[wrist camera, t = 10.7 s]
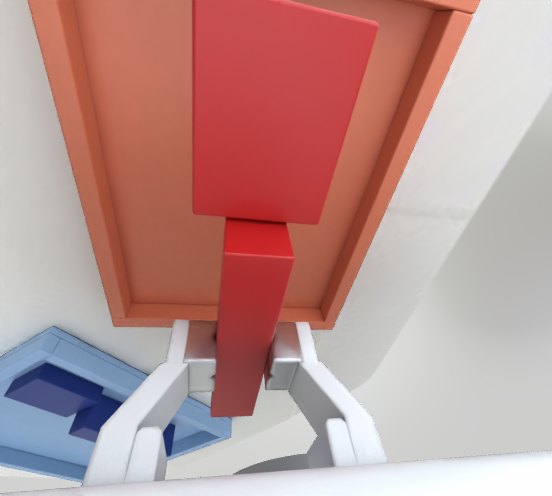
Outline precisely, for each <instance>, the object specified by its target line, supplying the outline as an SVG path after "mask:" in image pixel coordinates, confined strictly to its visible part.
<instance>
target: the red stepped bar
mask: <svg viewBox="0 0 552 496" xmlns="http://www.w3.org/2000/svg"><path fill="white" fill-rule="evenodd" d="M378 29H379V24H378V23H377V22H376V21H372V20H368V19H364V18H359V17H355V16H351V15H347V14H343V13H338V12H334V11H330V10H326V9H322V8H317V7H313V6H309V5H305V4H301V3H296V2H292V1H288V0H192V212H193V214H195V215H206V216H217V217H225V226H224V239H223V252H222V264H221V277H220V290H219V303H218V315H217V321H218V323H217V337H216V342H217V343H218V345H217V360H216V374H215V387H214V391H212V397H211V412H210V416H211V417H236V416H252V414H253V411H254V407H255V403H256V400H257V396H258V392H259V389H260V385H261V381H262V378H263V374H264V370H265V366H266V362H267V359H268V354H269V351H270V347H271V343H272V341H273V337H274V334H275V330H276V326H277V323H278V319H279V315H280V312H281V308H282V304H283V301H284V297H285V294H286V290H287V286H288V283H289V279H290V275H291V272H292V268H293V264H294V261H295V256H294V252H293V248H292V244H291V240H290V236H289V232H288V228H287V224H286V223H296V224H307V225H318V224H319V221H320V217H321V214H322V211H323V208H324V204H325V201H326V198H327V195H328V191H329V188H330V185H331V182H332V178H333V175H334V172H335V169H336V165H337V162H338V159H339V156H340V152H341V149H342V146H343V143H344V139H345V136H346V133H347V130H348V126H349V123H350V120H351V117H352V113H353V110H354V107H355V104H356V100H357V97H358V94H359V91H360V87H361V84H362V81H363V77H364V74H365V71H366V68H367V64H368V61H369V58H370V55H371V51H372V48H373V45H374V42H375V38H376V35H377V32H378Z"/></svg>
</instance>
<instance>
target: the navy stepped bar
mask: <svg viewBox="0 0 552 496" xmlns="http://www.w3.org/2000/svg"><path fill="white" fill-rule="evenodd" d="M103 389H104V387H101V386H99V385H97V384H95V383H92V382H90V381H88V380H85V379H83V378H81V377H79V376H76V375H74V374H72V373H70V372H67V371H65V370H63V369H60V368H58V367H56V366H54V365H51V364H49V363H47V362H46V363H44V364H42V365H40V366H39V367H37V368H35V369H33V370H31V371H29V372H27V373H26V374H24V375H22V376H20V377H18V378H16V379H15V380H13V382H12V383H11V385H10V386H9V388H8V390H7V391H6V393H5V394H4V397H7V398H10V399H13V400H16V401H19V402H21V403H24V404H27V405H30V406H33V407H36V408H39V409H42V410H45V411H48V412H51V413H54V414H57V415H60V416H63V417H66V418H67V417H69V416H71V415H73V414H76V416H75V418H74V421H73V423H72V426H71V428H70V431H69V433H68V434H69V435H72V436H75V437H78V438H82V439H85V440H88V441H91V442H95V443H96V441H97V438H98V435H99V432H100V429H101V427H102V426H103V425H104V424H105V423H106V421H107V420H108V419H109V418H110V417H111V416H112V415H113V414H114V413H115V412H116V411H117V410H118V409H119V407H120V406H121V405H122V404H123V403H121V402H119V401H116V400H114V399H112V398H109V397H107V396H105V395H102V392H103ZM174 433H175V425H173V424H171V423H169V424H168V426H167V427H166V429H165V430H164V431H163V439H164V445H165V452H166V458H167V457H170V456H171V453H172V446H173V439H174Z"/></svg>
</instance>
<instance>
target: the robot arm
mask: <svg viewBox="0 0 552 496" xmlns="http://www.w3.org/2000/svg"><path fill="white" fill-rule="evenodd" d="M217 323H218V321H205V320H179V319H175V321H174V323H173V327H172V332H171V337H170V342H169V346H168V351H167V356H166V361H165V363H160V364H159V365H158V366H157V368H156V369H155V370H154V371H153V372H152V373H151V374H150V375H149V376H148V377H147V378H146V379H145V381H144V382H143V383H142V384H141V385H140V386H139V387H138V388H137V389H136V390H135V391H134V392H133V393H132V395H131V396H130V397H129V398H128V399H127V400H126V401H125V402H124V403H123V404H122V405H121V406H120V407H119V409H118V410H117V411H116V412H115V413H114V414H113V415H112V416H111V417H110V418H109V419H108V420H107V421H106V423H105V424H104V425H103V426H102V427H101V429H100V432H99V435H98V438H97V441H96V444H95V447H94V450H93V453H92V456H91V459H90V462H89V464H88V467H87V470H86V473H85V476H84V479H83V482H82V485H81V487H72V488H60V489H48V490H35V491H22V492H9V493H0V496H552V450H545V451H531V452H519V453H506V454H493V455H481V456H467V457H455V458H442V459H429V460H416V461H404V462H391V463H388V462H387V459H386V456H385V453H384V450H383V447H382V444H381V441H380V438H379V435H378V432H377V430H376V427H375V424H374V421H373V418H372V416H371V414H370V413H369V412H368V411H367V410H366V409H365V408H364V407H363V406H362V405H361V404H360V402H359V401H358V400H357V399H356V398H355V397H354V396H353V395H352V394H351V393H350V392H349V391H348V389H347V388H346V387H345V386H344V385H343V384H342V383H341V382H340V381H339V380H338V379H337V377H336V376H335V375H334V374H333V373H332V372H331V371H330V370H329V369H328V368H327V367H326V366H325V364H324V363H323V362H318V358H317V354H316V349H315V345H314V341H313V337H312V333H311V329H310V325H309V323H308V322H278V323H277V326H276V330H275V334H274V337H273V341H272V343H271V347H270V351H269V354H268V359H267V362H266V366H265V370H264V379H265V390H289V391H288V392H289V393H290V395H291V396H292V398H293V399H294V401H295V402H296V404H297V405H298V407H299V408H300V410H301V411H302V413H303V414H304V416H305V417H306V419H307V420H308V422H309V423H310V425H311V426H312V428H313V429H314V431H315V432H316V434H317V435H318V436H317V437H316V440H315V441H314V442H313V444H312V445H311V447H310V449H309V450H308V452H307V455H308V462H309V468H310V469H302V470H289V471H276V472H264V473H251V474H238V475H225V476H214V477H200V478H187V479H175V480H165V474H166V467H167V458H166V452H165V445H164V439H163V431H164V430H165V429H166V427H167V426H168V424H169V423H170V421H171V420H172V418H173V417H174V415H175V414H176V412H177V411H178V409H179V408H180V406H181V405H182V404H183V402H184V401H185V399H186V398H187V396H188V395H189V393H191V392H210V391H214V387H215V374H216V360H217V345H218V343H217V342H216V337H217Z"/></svg>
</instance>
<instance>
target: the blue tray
mask: <svg viewBox="0 0 552 496" xmlns="http://www.w3.org/2000/svg"><path fill="white" fill-rule="evenodd" d="M46 362H47V363H49V364H51V365H54V366H56V367H58V368H60V369H63V370H65V371H67V372H70V373H72V374H74V375H76V376H79V377H81V378H83V379H85V380H88V381H90V382H92V383H95V384H97V385H99V386H101V387H104V389H103V392H102V395H105V396H107V397H109V398H112V399H114V400H116V401H119V402H121V403H124V402H125V401H126V400H127V399H128V398H129V397H130V396H131V395H132V393H133V392H134V391H135V390H136V389H137V388H138V387H139V386H140V385H141V384H142V383H143V382H144V381H145V379H146V378H147V377H148V375H146V374H144V373H142V372H140V371H138V370H136V369H134V368H132V367H130V366H129V365H127V364H125V363H123V362H121V361H119V360H117V359H115V358H113V357H111V356H109V355H107V354H106V353H104V352H102V351H100V350H98V349H96V348H94V347H92V346H90V345H88V344H86V343H84V342H83V341H81V340H79V339H77V338H75V337H73V336H71V335H69V334H67V333H65V332H63V331H61V330H60V329H58V328H56V327H54V326H53V327H51V328H49V329H47V330H46V331H44V332H42V333H41V334H39V335H37V336H35V337H34V338H32V339H30V340H28V341H27V342H25V343H23V344H22V345H20V346H18V347H16V348H15V349H13V350H11V351H10V352H8V353H6V354H4V355H3V356H1V357H0V466H3V467H8V468H13V469H18V470H23V471H28V472H32V473H37V474H42V475H47V476H52V477H57V478H61V479H67V480H71V481H76V482H81V483H82V482H83V479H84V476H85V473H86V470H87V467H88V464H89V462H90V459H91V456H92V453H93V450H94V447H95V444H96V443H95V442H91V441H88V440H85V439H82V438H78V437H75V436H72V435H69V434H68V433H69V431H70V428H71V426H72V423H73V421H74V418H75V416H76V414H73V415H71V416H69V417H67V418H66V417H63V416H60V415H57V414H54V413H51V412H48V411H45V410H42V409H39V408H36V407H33V406H30V405H27V404H24V403H21V402H19V401H16V400H13V399H10V398H7V397H4V394H5V393H6V391H7V390H8V388H9V386H10V385H11V383H12V382H13V380H15V379H16V378H18V377H20V376H22V375H24V374H26V373H27V372H29V371H31V370H33V369H35V368H37V367H39V366H40V365H42V364H44V363H46ZM210 412H211V408H209V407H207V406H205V405H203V404H201V403H199V402H198V401H196V400H194V399H192V398H190V397H188V396H187V398H186V399H185V401H184V402H183V404H182V405H181V406H180V408H179V409H178V411H177V412H176V414H175V415H174V417H173V418H172V420H171V421H170V423H171V424H173V425H175V433H174V439H173V446H172V453H171V456H170V457H167V461H168V460H171V459H174V458H176V457H179V456H182V455H184V454H187V453H190V452H193V451H195V450H198V449H201V448H204V447H206V446H209V445H212V444H215V443H217V442H220V441H223V440H226V439H228V438H231V423H232V420H231V419H230V418H228V417H211V416H210Z"/></svg>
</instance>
